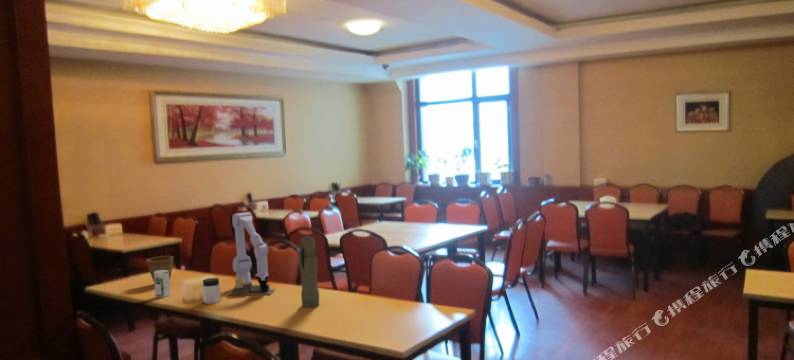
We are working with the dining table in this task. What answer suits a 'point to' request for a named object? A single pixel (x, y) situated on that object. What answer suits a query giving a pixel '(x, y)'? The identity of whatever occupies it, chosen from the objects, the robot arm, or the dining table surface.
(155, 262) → the plant pot
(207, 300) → the jar
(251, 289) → the shaft
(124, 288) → the dining table surface
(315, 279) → the thermos
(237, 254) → the robot arm
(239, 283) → the spacer
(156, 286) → the syrup box
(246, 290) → the bearing block
